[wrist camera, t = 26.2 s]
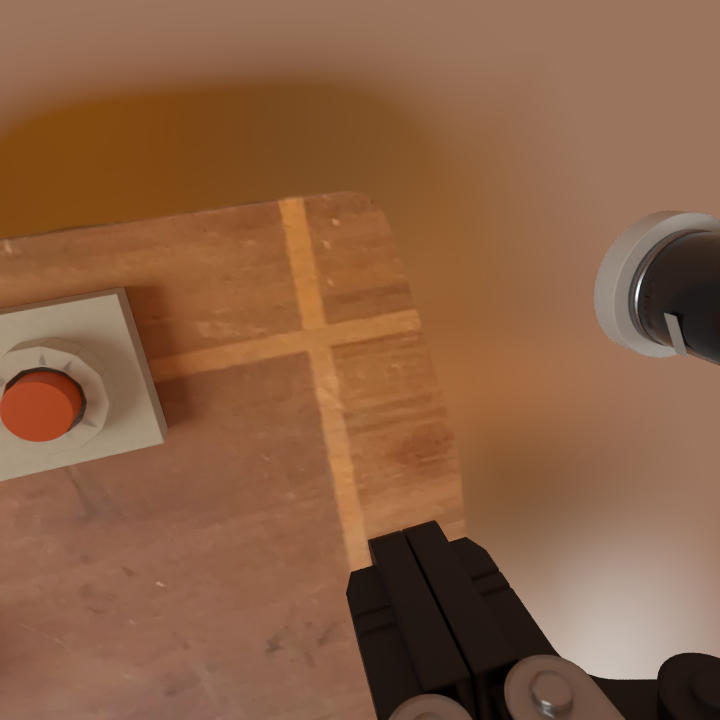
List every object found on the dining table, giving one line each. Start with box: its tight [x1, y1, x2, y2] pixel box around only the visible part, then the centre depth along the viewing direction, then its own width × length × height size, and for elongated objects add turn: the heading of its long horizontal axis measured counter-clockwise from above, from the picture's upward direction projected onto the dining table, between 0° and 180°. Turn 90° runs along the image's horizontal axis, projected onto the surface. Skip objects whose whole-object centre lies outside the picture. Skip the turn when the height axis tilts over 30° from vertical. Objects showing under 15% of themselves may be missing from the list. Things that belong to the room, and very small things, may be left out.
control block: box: [0, 287, 168, 481], centre depth 31 cm, size 10×10×4 cm
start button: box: [0, 371, 82, 442], centre depth 28 cm, size 4×4×2 cm
